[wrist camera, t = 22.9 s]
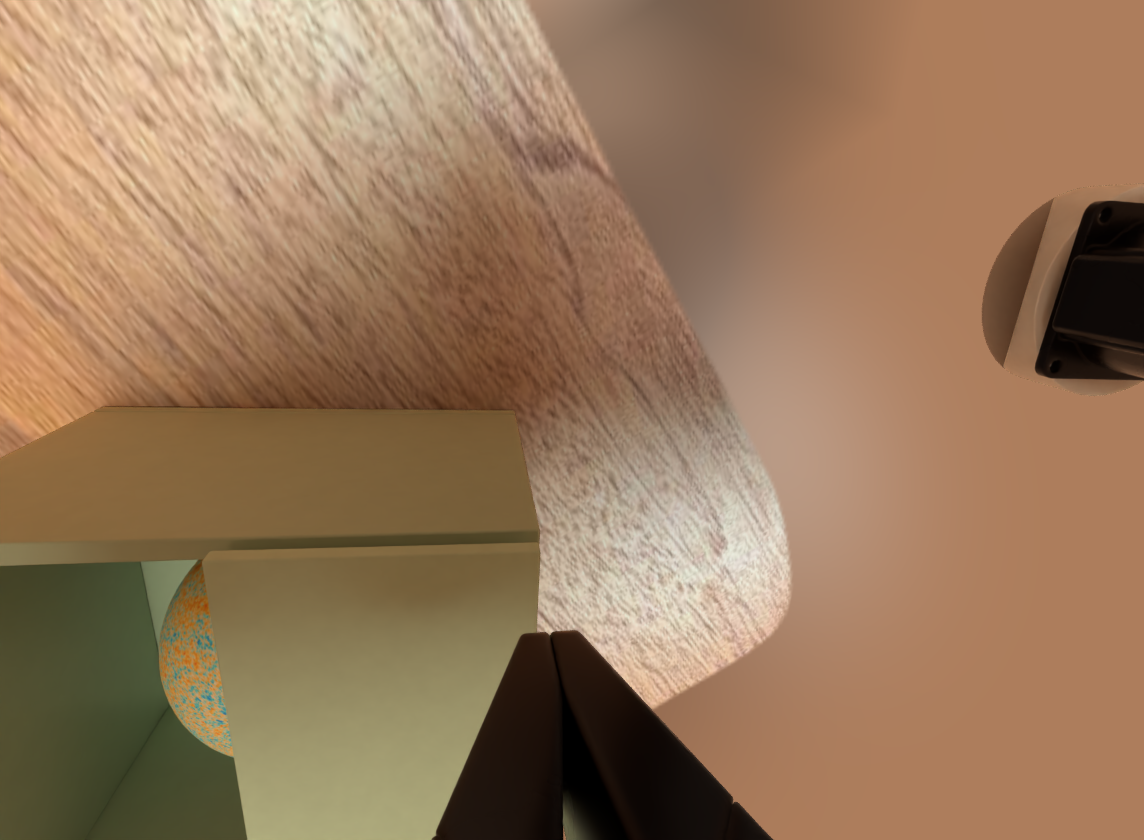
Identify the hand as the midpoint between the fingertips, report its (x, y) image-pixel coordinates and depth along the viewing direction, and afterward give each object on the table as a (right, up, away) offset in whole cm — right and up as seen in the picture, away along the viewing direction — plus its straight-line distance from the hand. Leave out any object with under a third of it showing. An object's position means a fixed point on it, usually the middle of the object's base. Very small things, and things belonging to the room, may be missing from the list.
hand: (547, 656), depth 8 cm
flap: (-4, -5, +5) cm, 8 cm away
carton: (-8, -2, +13) cm, 15 cm away
